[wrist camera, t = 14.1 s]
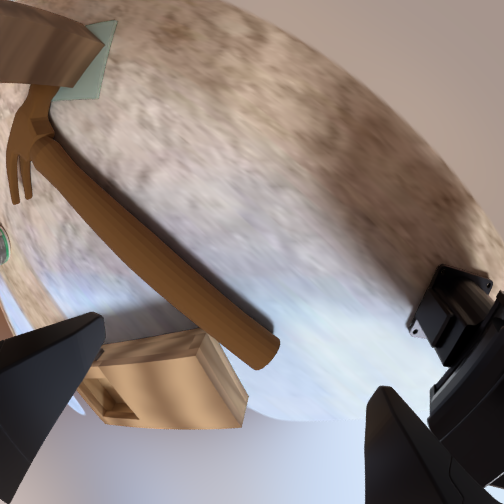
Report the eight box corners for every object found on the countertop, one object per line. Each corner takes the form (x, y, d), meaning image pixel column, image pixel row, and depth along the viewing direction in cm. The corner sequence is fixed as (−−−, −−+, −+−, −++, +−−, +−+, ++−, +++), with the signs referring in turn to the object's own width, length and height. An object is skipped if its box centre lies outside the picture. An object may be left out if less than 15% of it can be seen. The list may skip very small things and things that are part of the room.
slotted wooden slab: (207, 321, 24) (193, 351, 20) (248, 396, 26) (241, 427, 22) (76, 345, 28) (58, 365, 24) (118, 402, 31) (105, 424, 27)
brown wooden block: (105, 44, 16) (-13, 12, 5) (72, 88, 18) (-47, 83, 7) (82, 23, 15) (-23, -6, 4) (52, 63, 17) (-54, 55, 6)
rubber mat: (117, 21, 16) (115, 19, 15) (98, 98, 18) (95, 98, 18) (48, 37, 16) (45, 36, 16) (33, 103, 19) (30, 103, 18)
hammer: (311, 312, 21) (54, 71, 17) (309, 339, 19) (28, 70, 14) (216, 375, 26) (13, 171, 22) (207, 399, 23) (-9, 178, 19)
